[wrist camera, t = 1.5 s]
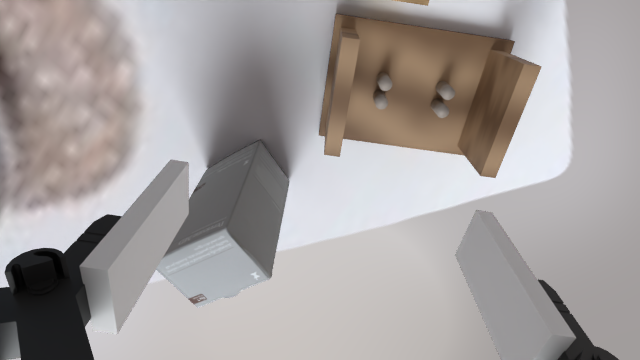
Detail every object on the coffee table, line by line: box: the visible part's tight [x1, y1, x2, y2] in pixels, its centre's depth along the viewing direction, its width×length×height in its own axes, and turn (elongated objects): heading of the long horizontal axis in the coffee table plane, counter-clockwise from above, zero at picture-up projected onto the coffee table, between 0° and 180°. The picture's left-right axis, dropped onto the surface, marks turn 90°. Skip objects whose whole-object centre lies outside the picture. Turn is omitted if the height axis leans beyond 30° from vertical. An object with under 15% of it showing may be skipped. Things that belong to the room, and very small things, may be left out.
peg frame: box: [319, 14, 541, 178], centre depth 34 cm, size 12×17×8 cm
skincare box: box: [156, 140, 289, 307], centre depth 36 cm, size 8×7×16 cm
